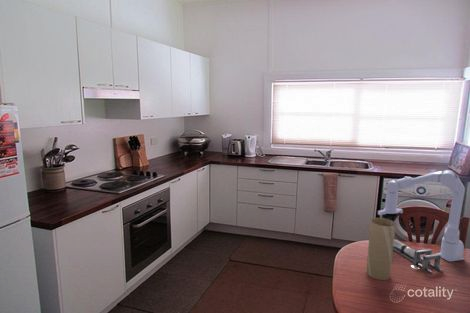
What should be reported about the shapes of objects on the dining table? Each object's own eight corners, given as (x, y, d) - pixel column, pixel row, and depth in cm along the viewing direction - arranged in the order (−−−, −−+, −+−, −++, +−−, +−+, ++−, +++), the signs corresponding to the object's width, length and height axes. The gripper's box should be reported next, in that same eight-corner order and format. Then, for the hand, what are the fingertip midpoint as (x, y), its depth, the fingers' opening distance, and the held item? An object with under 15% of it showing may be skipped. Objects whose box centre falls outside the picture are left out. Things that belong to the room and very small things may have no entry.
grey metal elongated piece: (390, 246, 172) (391, 239, 171) (396, 245, 173) (397, 238, 172) (414, 261, 156) (415, 253, 156) (420, 260, 158) (421, 252, 157)
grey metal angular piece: (403, 247, 171) (404, 235, 170) (444, 271, 148) (446, 258, 146) (384, 249, 168) (385, 237, 167) (423, 274, 145) (424, 261, 143)
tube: (362, 273, 145) (367, 222, 140) (370, 265, 152) (375, 216, 148) (385, 282, 138) (391, 228, 134) (393, 273, 146) (398, 221, 141)
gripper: (396, 199, 178) (394, 222, 181) (374, 201, 175) (372, 224, 177) (406, 203, 172) (404, 227, 174) (383, 205, 168) (381, 229, 170)
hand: (388, 226), depth 175 cm, fingers closed
